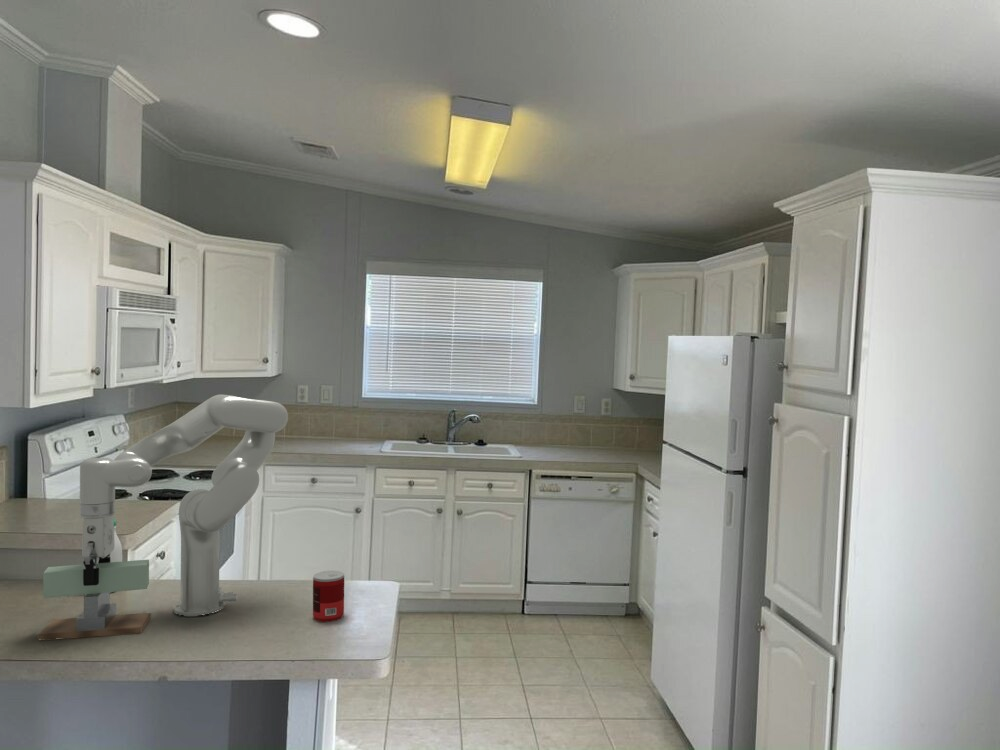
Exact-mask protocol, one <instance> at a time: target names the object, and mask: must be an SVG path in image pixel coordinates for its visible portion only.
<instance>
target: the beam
mask: <svg viewBox="0 0 1000 750" xmlns="http://www.w3.org/2000/svg"><path fill="white" fill-rule="evenodd" d="M83 565H84V564H72V565H61V566H60V565H59V566H48V567H47V568H46V569H45V570H44V572H43V573H42V575H43V576H42V578H43V580H42V584H43V585H42V587H43V588H42V589H43V592H42V595H43V596H42V598H43V599H49V598H50V599H51V598H52V599H53V598H61V597H62V598H63V597H72V596H73V597H74V596H82V595H84V596H86V595H87V594H96V593H107V592H112V593H117V592H118V593H119V592H125V591H126V592H127V591H128V592H129V591H139V590H147V589H148V587H149V583H150V559H138V560H137V559H136V560H125V561H123V560H122V562H109V563H98V566H97V568H99V584H98V585H91V586H84V585H83Z"/></svg>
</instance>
